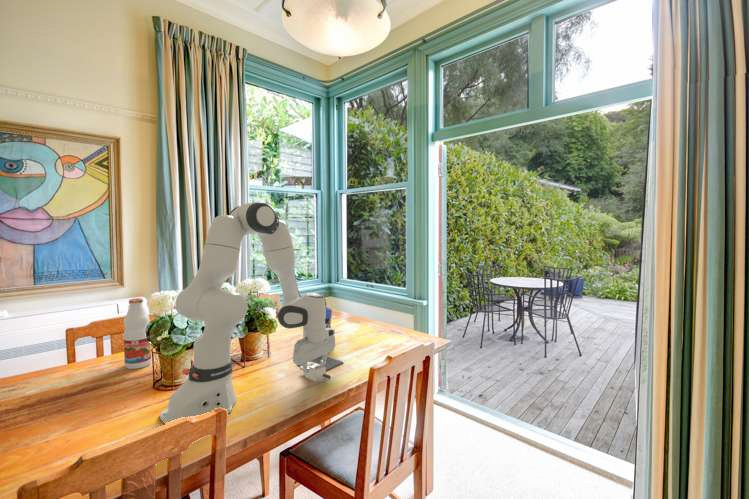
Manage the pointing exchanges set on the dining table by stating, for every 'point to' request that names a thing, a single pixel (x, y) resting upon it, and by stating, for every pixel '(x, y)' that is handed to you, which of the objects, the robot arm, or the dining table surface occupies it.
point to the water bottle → (328, 316)
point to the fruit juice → (136, 336)
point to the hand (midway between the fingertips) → (315, 368)
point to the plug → (316, 372)
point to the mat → (327, 362)
